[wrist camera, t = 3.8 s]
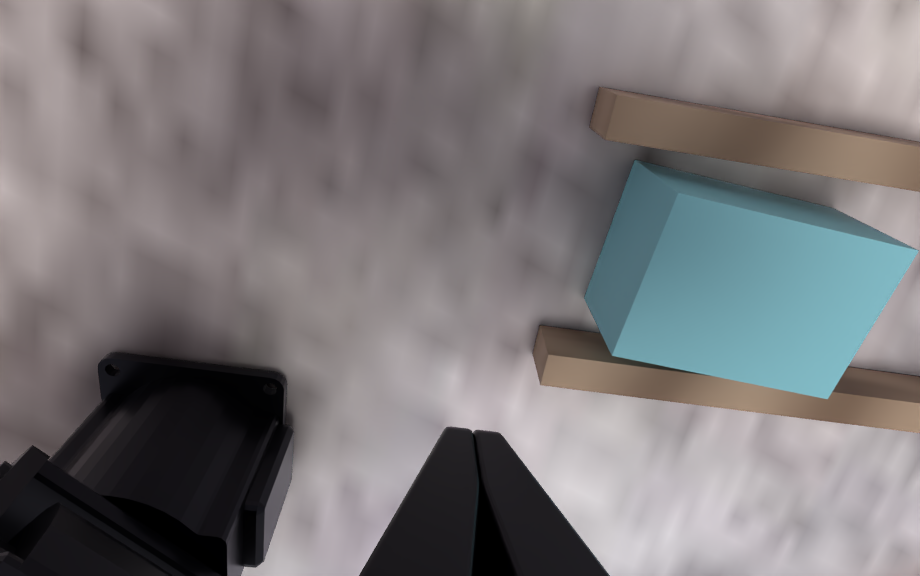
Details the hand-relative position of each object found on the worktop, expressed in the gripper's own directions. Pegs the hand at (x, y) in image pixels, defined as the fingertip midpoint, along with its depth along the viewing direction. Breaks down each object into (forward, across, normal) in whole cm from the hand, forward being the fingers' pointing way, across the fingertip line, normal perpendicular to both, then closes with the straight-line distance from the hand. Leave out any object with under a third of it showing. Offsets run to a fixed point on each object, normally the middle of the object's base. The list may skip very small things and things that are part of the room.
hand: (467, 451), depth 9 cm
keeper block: (+11, -9, 0) cm, 14 cm away
